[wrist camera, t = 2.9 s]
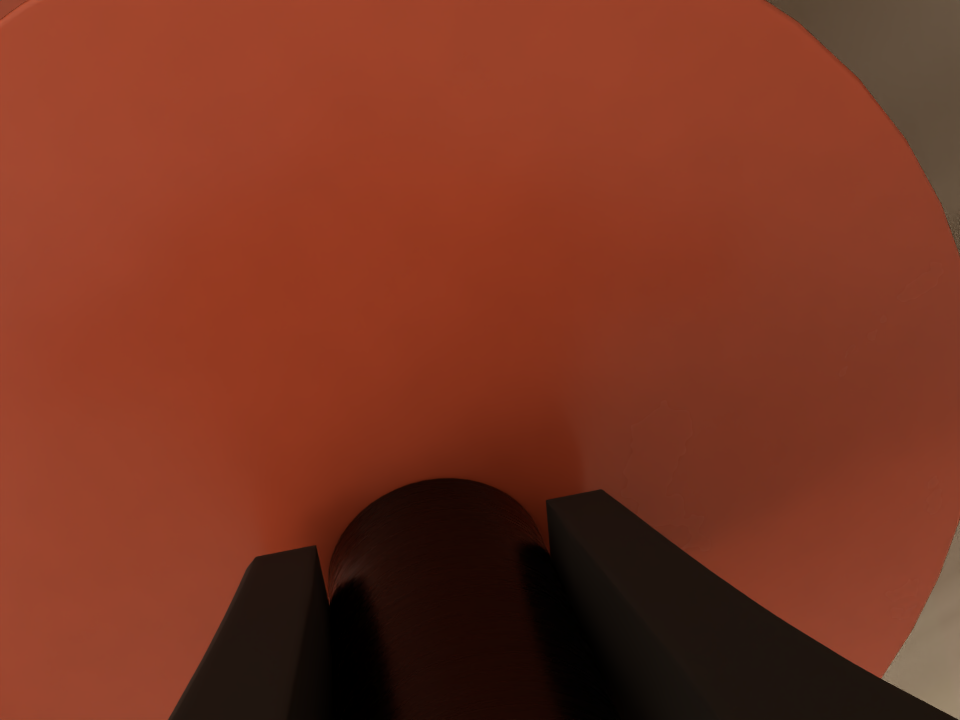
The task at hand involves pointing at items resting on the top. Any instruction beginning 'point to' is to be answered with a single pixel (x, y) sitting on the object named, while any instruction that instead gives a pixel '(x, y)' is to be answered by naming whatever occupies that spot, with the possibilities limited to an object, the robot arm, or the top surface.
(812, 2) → the top surface
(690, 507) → the lid
